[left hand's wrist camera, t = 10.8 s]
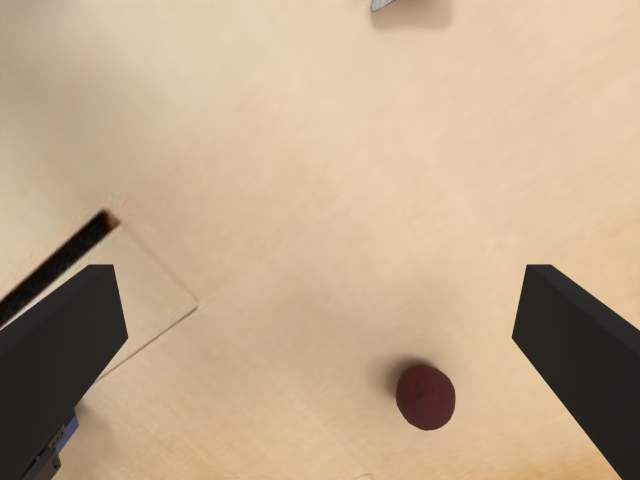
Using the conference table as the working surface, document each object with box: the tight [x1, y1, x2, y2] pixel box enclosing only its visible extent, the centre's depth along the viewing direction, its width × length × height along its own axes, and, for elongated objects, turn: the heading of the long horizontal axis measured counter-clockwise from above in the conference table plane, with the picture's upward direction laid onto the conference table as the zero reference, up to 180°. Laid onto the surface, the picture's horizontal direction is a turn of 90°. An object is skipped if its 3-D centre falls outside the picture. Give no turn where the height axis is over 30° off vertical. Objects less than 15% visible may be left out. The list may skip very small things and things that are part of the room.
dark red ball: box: [396, 365, 455, 431], centre depth 49 cm, size 7×8×7 cm
